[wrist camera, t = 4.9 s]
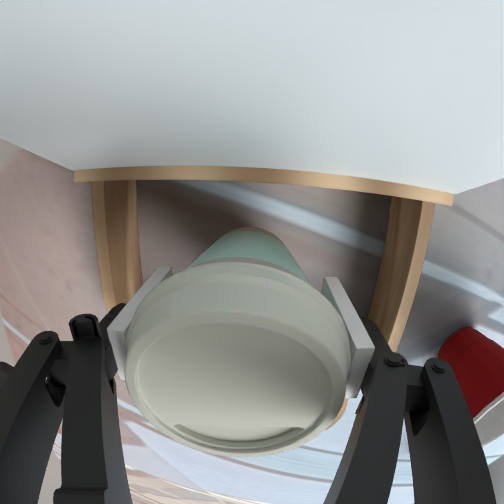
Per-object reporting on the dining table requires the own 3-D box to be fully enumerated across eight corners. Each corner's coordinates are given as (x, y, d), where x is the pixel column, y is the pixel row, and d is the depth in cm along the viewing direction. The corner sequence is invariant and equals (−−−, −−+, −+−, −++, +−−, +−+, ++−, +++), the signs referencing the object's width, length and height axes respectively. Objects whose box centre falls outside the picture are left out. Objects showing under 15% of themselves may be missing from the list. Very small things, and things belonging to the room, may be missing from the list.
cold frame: (137, 314, 25) (103, 360, 18) (125, 159, 20) (73, 165, 14) (373, 331, 24) (398, 382, 18) (405, 176, 20) (454, 189, 13)
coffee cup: (170, 287, 20) (94, 408, 9) (223, 182, 18) (156, 227, 7) (271, 338, 22) (272, 478, 10) (335, 246, 19) (413, 361, 8)
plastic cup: (398, 368, 26) (437, 456, 14) (466, 290, 22) (537, 360, 11) (444, 392, 27) (478, 460, 16) (500, 330, 24) (552, 388, 12)
